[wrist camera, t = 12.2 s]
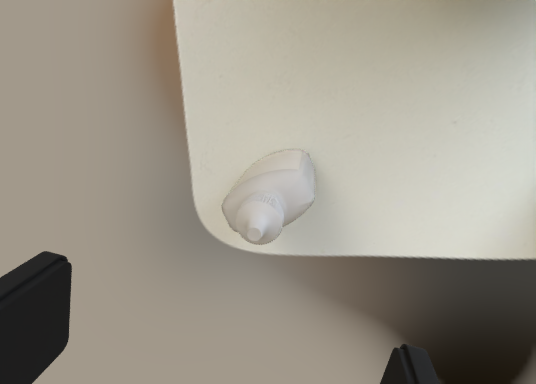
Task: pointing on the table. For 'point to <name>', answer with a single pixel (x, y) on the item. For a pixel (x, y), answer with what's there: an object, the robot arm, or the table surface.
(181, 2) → the table surface
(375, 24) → the table surface
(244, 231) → the eye dropper bottle
